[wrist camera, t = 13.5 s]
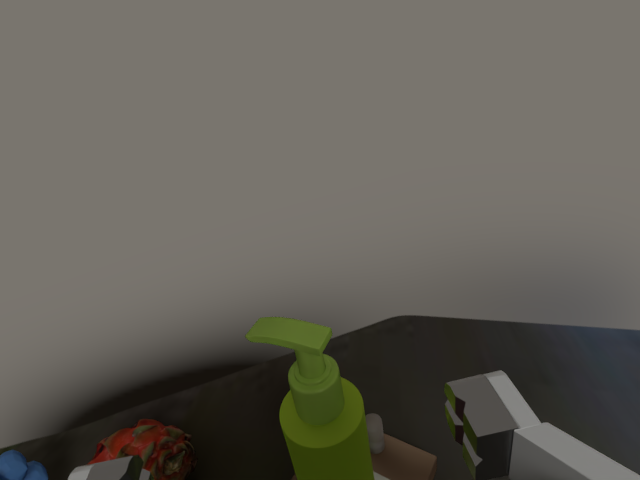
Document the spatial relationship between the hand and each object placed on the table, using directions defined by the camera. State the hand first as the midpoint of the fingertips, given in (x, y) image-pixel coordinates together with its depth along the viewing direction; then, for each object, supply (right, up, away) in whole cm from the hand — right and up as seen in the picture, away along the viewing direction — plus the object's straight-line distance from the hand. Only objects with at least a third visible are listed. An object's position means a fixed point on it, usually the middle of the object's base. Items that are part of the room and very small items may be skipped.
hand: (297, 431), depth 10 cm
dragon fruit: (-17, -21, +30) cm, 40 cm away
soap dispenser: (+2, -18, +24) cm, 30 cm away
